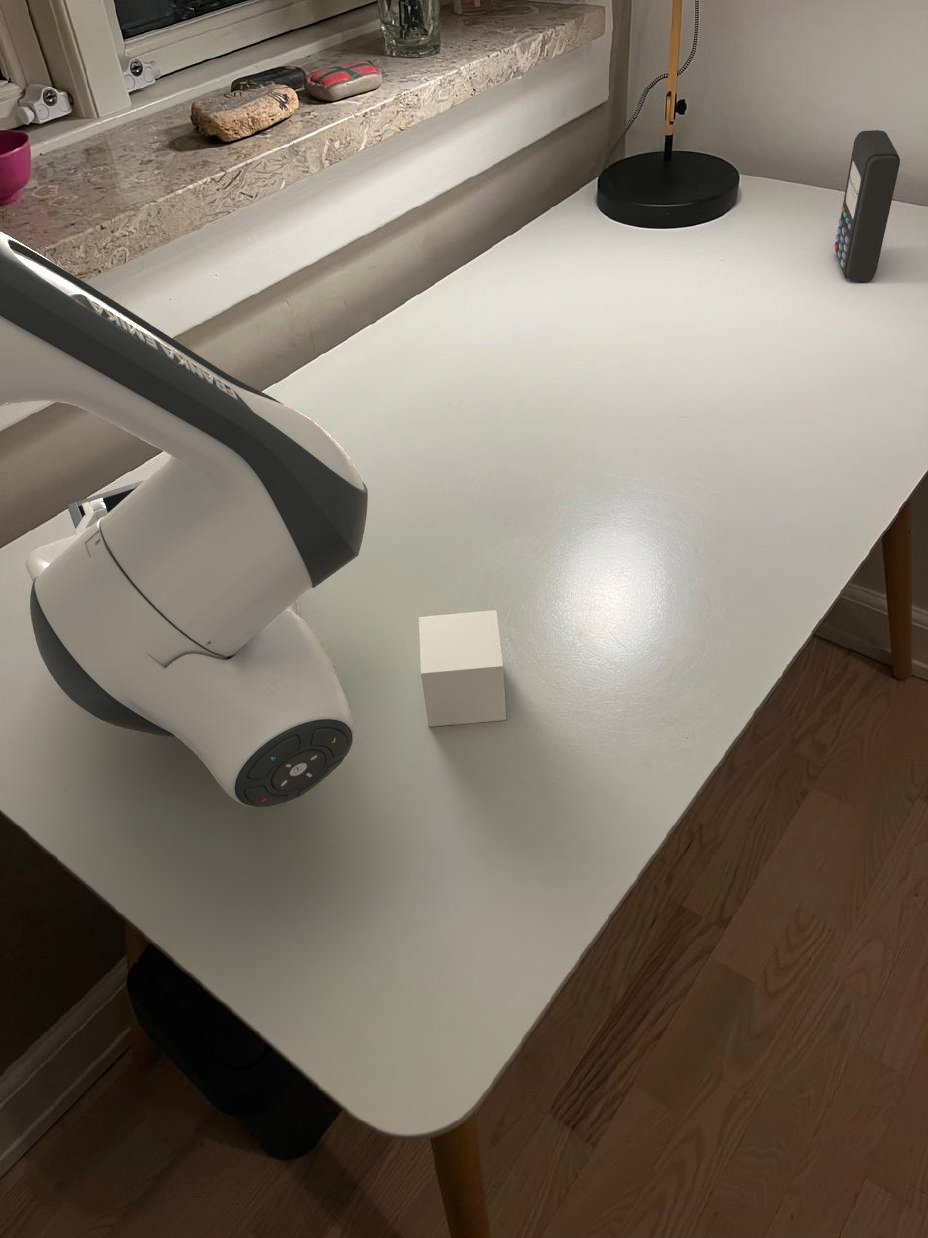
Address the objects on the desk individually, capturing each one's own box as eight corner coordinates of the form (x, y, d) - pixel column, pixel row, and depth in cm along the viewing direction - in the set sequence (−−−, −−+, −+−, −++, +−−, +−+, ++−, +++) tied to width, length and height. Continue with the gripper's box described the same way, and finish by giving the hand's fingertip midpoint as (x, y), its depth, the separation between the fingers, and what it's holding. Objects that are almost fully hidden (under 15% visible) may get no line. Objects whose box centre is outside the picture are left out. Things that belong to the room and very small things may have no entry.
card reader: (830, 251, 132) (852, 127, 121) (862, 250, 131) (887, 126, 121) (841, 284, 125) (866, 156, 115) (876, 283, 125) (903, 155, 114)
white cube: (425, 670, 83) (418, 616, 79) (500, 664, 83) (496, 609, 79) (428, 727, 79) (420, 673, 74) (506, 720, 79) (503, 665, 74)
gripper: (357, 505, 66) (285, 406, 75) (36, 618, 60) (1, 496, 70) (370, 578, 71) (301, 477, 80) (72, 690, 65) (35, 567, 74)
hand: (159, 487), depth 75 cm, fingers open, 8 cm apart
